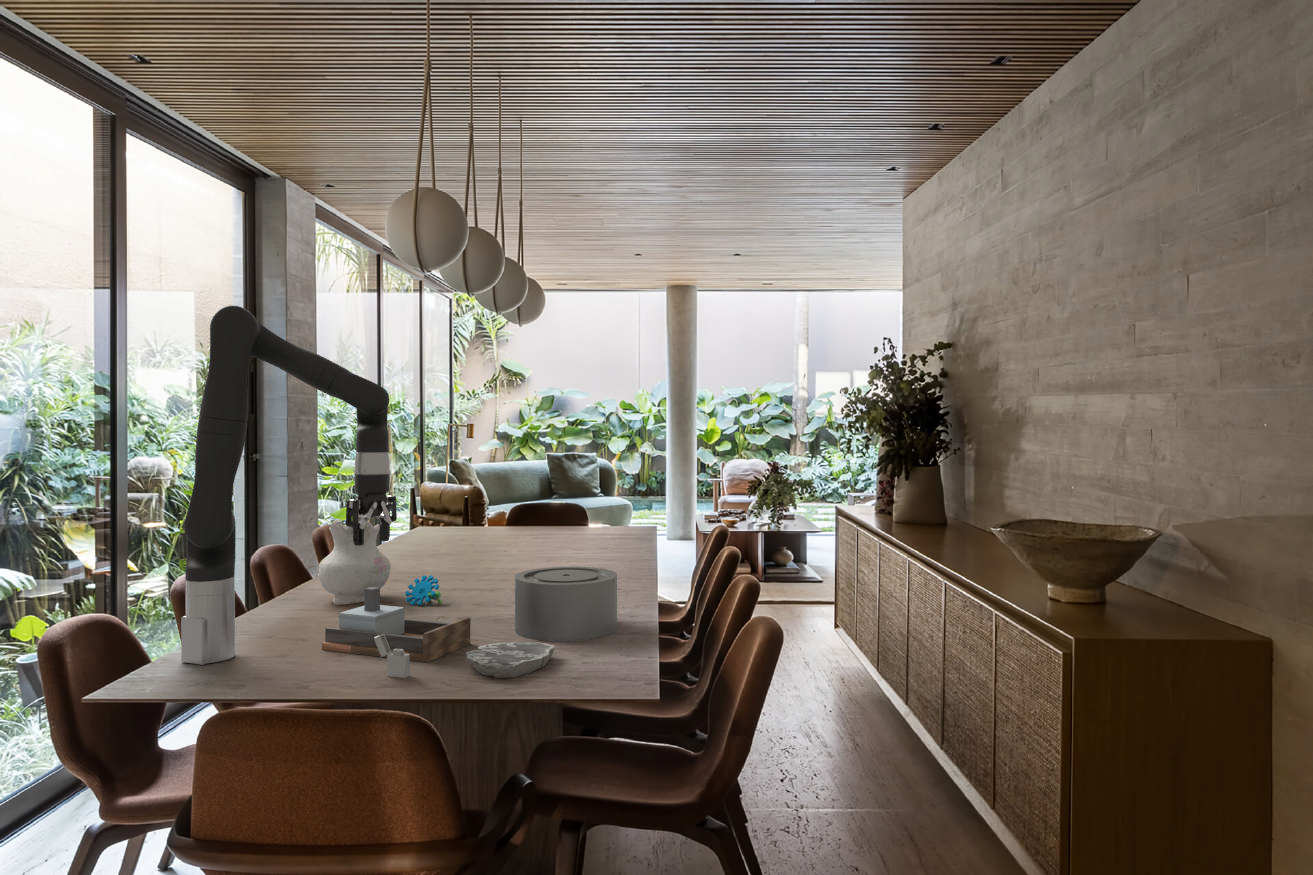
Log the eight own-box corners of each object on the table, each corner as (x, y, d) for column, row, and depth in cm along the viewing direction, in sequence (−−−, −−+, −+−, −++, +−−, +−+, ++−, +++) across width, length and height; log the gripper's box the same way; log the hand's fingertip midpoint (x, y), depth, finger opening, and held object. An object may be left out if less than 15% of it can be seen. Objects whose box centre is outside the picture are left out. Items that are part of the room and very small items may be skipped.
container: (594, 645, 184) (593, 587, 184) (496, 637, 192) (495, 581, 192) (631, 621, 208) (631, 569, 208) (542, 614, 215) (542, 564, 215)
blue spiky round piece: (397, 598, 227) (418, 570, 233) (406, 610, 231) (427, 581, 237) (425, 608, 222) (446, 578, 228) (435, 619, 226) (455, 590, 232)
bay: (427, 662, 170) (427, 633, 170) (322, 649, 180) (321, 622, 180) (470, 643, 185) (470, 617, 185) (371, 632, 195) (371, 607, 195)
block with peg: (375, 643, 179) (375, 593, 179) (338, 639, 182) (338, 590, 182) (404, 633, 188) (404, 585, 188) (369, 629, 192) (369, 582, 192)
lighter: (410, 675, 161) (410, 635, 161) (405, 677, 160) (405, 637, 159) (378, 672, 163) (378, 632, 163) (373, 675, 161) (373, 635, 161)
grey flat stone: (498, 651, 180) (498, 637, 180) (566, 658, 174) (566, 645, 174) (444, 675, 162) (444, 660, 162) (518, 685, 156) (518, 670, 156)
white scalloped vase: (322, 598, 241) (315, 515, 240) (391, 588, 248) (384, 507, 247) (320, 613, 221) (312, 523, 220) (395, 602, 228) (387, 514, 227)
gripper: (363, 473, 177) (363, 548, 177) (405, 471, 190) (405, 540, 190) (336, 473, 180) (336, 546, 180) (379, 470, 193) (379, 538, 193)
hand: (371, 543), depth 185 cm, fingers open, 8 cm apart
